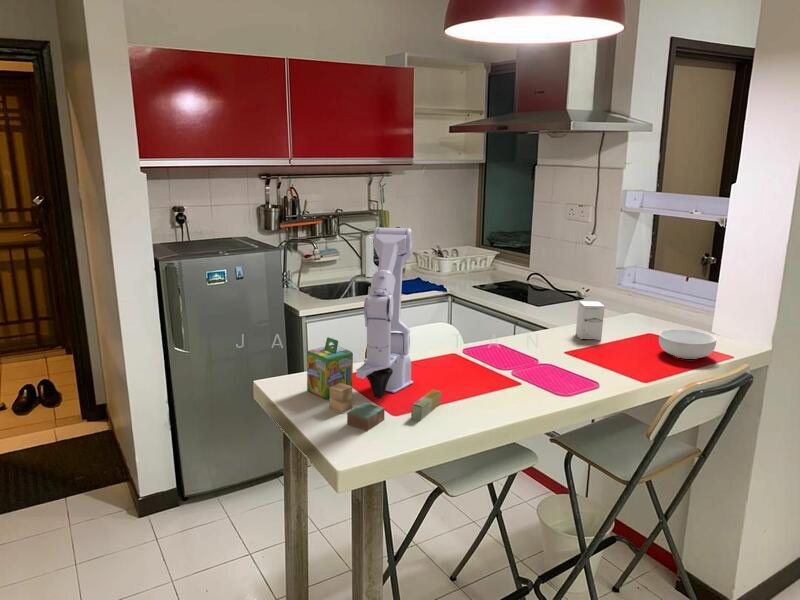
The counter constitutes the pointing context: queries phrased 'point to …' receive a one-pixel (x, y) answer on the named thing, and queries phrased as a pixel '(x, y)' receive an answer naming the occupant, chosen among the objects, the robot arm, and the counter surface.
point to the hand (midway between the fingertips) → (378, 397)
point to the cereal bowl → (687, 343)
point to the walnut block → (365, 416)
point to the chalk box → (328, 368)
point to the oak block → (340, 398)
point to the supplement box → (590, 320)
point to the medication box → (425, 405)
